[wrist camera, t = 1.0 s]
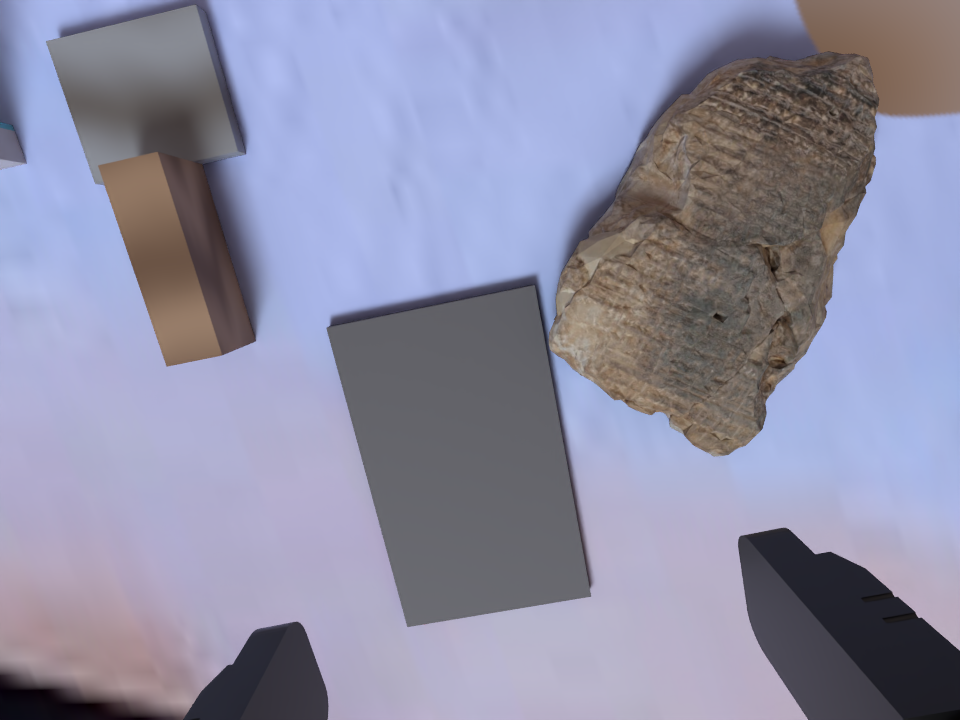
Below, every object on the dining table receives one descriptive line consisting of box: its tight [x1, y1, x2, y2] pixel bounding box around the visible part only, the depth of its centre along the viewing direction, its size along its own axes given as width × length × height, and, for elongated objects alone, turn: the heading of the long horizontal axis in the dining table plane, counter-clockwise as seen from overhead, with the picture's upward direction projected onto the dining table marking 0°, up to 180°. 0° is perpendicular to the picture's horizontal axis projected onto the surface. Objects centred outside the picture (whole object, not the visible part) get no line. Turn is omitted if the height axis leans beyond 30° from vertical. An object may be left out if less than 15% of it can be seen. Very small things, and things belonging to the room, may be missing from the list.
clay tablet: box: [549, 52, 879, 456], centre depth 27 cm, size 14×5×20 cm
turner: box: [46, 4, 256, 366], centre depth 27 cm, size 17×8×4 cm, turn 12°
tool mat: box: [327, 285, 591, 627], centre depth 32 cm, size 20×12×1 cm, turn 12°
